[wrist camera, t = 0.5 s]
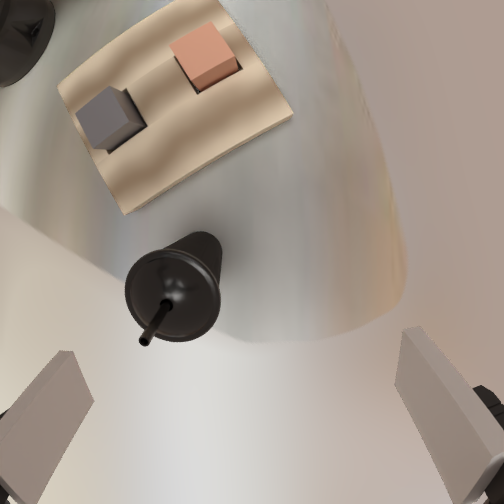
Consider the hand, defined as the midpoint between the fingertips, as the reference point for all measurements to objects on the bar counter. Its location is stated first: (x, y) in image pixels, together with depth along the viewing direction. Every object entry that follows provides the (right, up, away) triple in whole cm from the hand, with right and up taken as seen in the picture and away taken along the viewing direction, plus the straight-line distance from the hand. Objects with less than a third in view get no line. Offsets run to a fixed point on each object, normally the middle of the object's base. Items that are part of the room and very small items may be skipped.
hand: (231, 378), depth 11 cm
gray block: (-13, +19, +19) cm, 30 cm away
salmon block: (-4, +24, +18) cm, 30 cm away
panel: (-8, +22, +21) cm, 31 cm away
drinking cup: (-5, +5, +26) cm, 27 cm away
